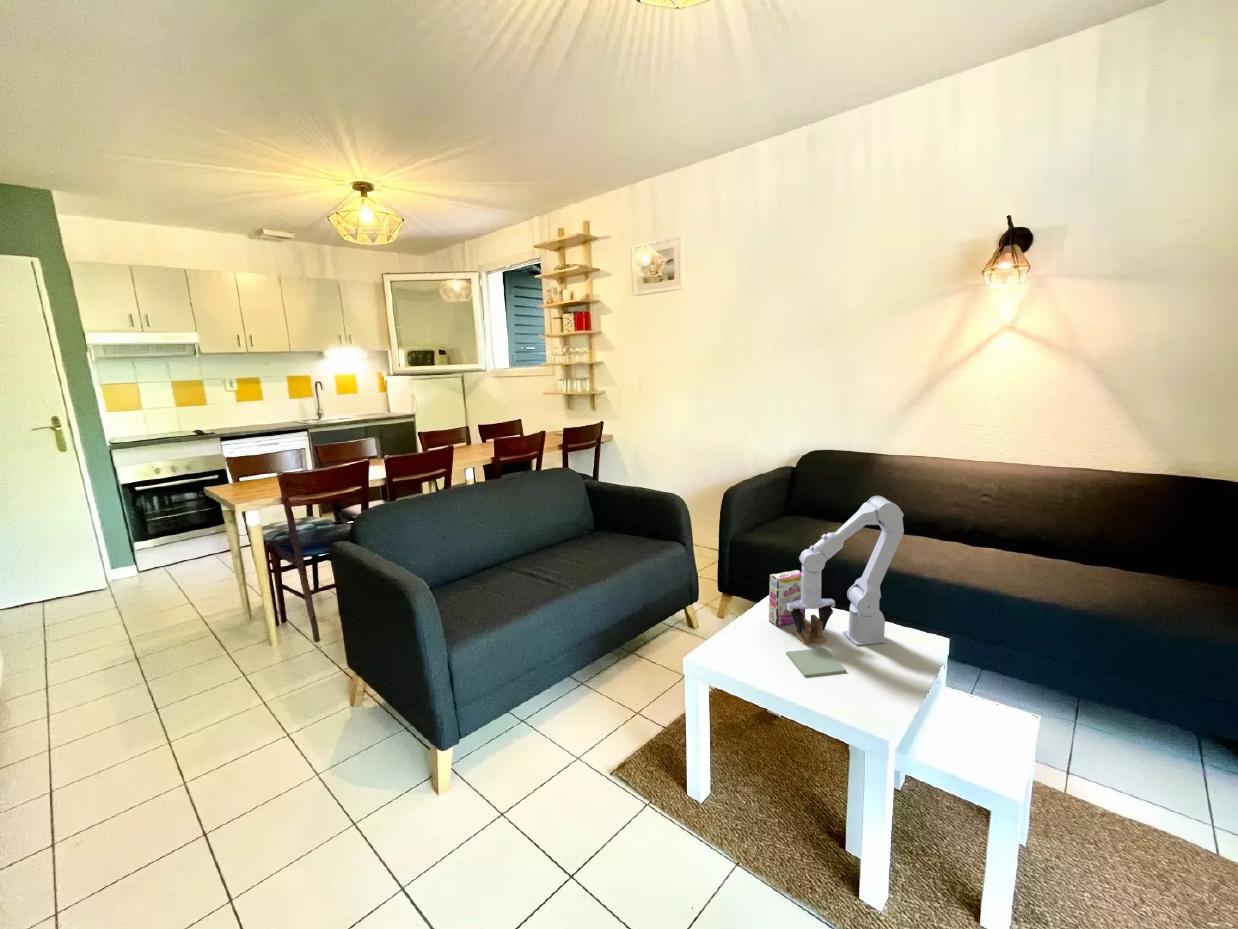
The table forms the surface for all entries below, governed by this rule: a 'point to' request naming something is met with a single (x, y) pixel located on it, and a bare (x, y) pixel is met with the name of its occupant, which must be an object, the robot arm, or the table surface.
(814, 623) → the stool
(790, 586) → the candy bar box
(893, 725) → the table surface
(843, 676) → the table surface
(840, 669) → the mat
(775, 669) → the table surface
